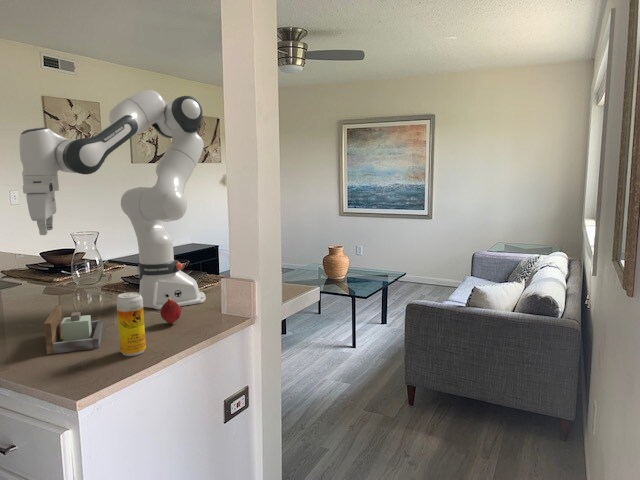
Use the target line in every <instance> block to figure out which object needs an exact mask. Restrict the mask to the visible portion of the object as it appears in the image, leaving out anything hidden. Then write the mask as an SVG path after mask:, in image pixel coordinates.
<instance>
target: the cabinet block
mask: <svg viewBox="0 0 640 480" xmlns="http://www.w3.org/2000/svg"><path fill="white" fill-rule="evenodd" d="M81 313H82V312H81V311H74V312H71V314H70V316H69V317H68V316H67V317H63V321H62V323H61V329H62V338H61V340H62V342H63V341H72V340H81V339H90V338H93V330H92V328H91V321H92V319H91V316H92V315H91V314H90V315H89V314H87V315H86V314H85V315H81Z"/></svg>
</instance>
